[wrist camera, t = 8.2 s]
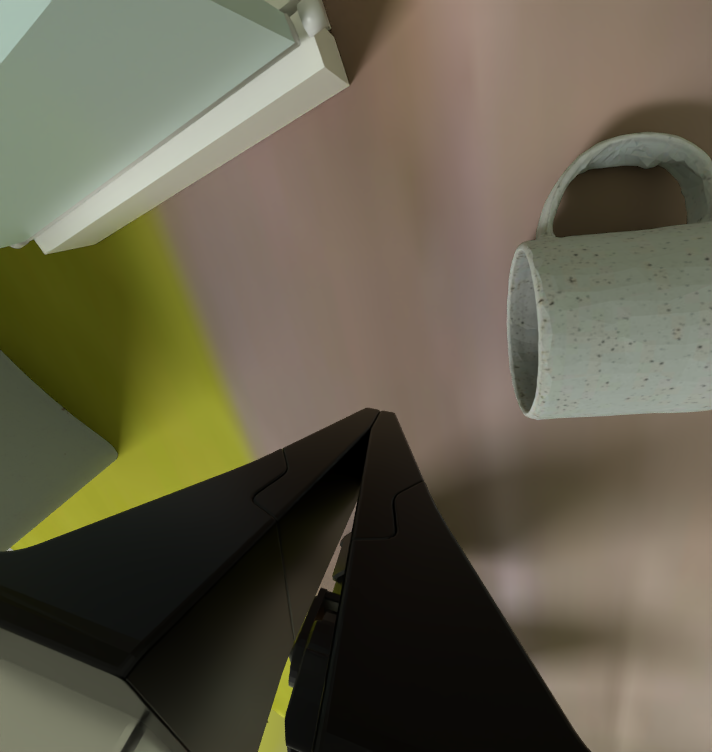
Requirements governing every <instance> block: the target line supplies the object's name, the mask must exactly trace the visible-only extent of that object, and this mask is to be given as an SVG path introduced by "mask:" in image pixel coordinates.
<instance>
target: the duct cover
mask: <svg viewBox="0 0 712 752" xmlns="http://www.w3.org/2000/svg"><path fill="white" fill-rule="evenodd" d="M299 46H300V39H299V36H298V33H297V31H296V28H295V26H294V24H293V22H292V20H291V19H290V17H289V16H288V14H286V13H285V14H284V13H283V12H281V11H280V10H278V9H277V8H275V7H273V6H272V5H270V4H269V3H267V2H266V1H264V0H0V248H3V247H7V246H10V245H14V244H17V243H21V242H24V241H31V240H33V239H34V238H36V237H37V236H38V235H40V234H41V233H43V232H44V231H45V230H47V229H48V228H49V227H51V226H52V225H54V224H55V223H56V222H58V221H59V220H61V219H62V218H63V217H65V216H66V215H67V214H69V213H70V212H72V211H73V210H74V209H76V208H77V207H78V206H80V205H81V204H83V203H84V202H85V201H87V200H88V199H89V198H91V197H92V196H94V195H95V194H96V193H98V192H99V191H101V190H102V189H103V188H105V187H106V186H107V185H109V184H110V183H112V182H113V181H114V180H116V179H117V178H118V177H120V176H121V175H123V174H124V173H125V172H127V171H128V170H129V169H131V168H132V167H134V166H135V165H136V164H138V163H139V162H140V161H142V160H143V159H145V158H146V157H147V156H149V155H150V154H152V153H153V152H154V151H156V150H157V149H158V148H160V147H161V146H163V145H164V144H165V143H167V142H168V141H169V140H171V139H172V138H174V137H175V136H176V135H178V134H179V133H180V132H182V131H183V130H185V129H186V128H187V127H189V126H190V125H192V124H193V123H194V122H196V121H197V120H198V119H200V118H201V117H203V116H204V115H205V114H207V113H208V112H209V111H211V110H212V109H214V108H215V107H216V106H218V105H219V104H220V103H222V102H223V101H225V100H226V99H227V98H229V97H230V96H231V95H233V94H234V93H236V92H237V91H238V90H240V89H241V88H243V87H244V86H245V85H247V84H248V83H249V82H251V81H252V80H254V79H255V78H256V77H258V76H259V75H260V74H262V73H263V72H265V71H266V70H267V69H269V68H270V67H271V66H273V65H274V64H276V63H277V62H278V61H280V60H281V59H282V58H284V57H285V56H287V55H288V54H289V53H291V52H292V51H294V50H295V49H296V48H298V47H299Z"/></svg>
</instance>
